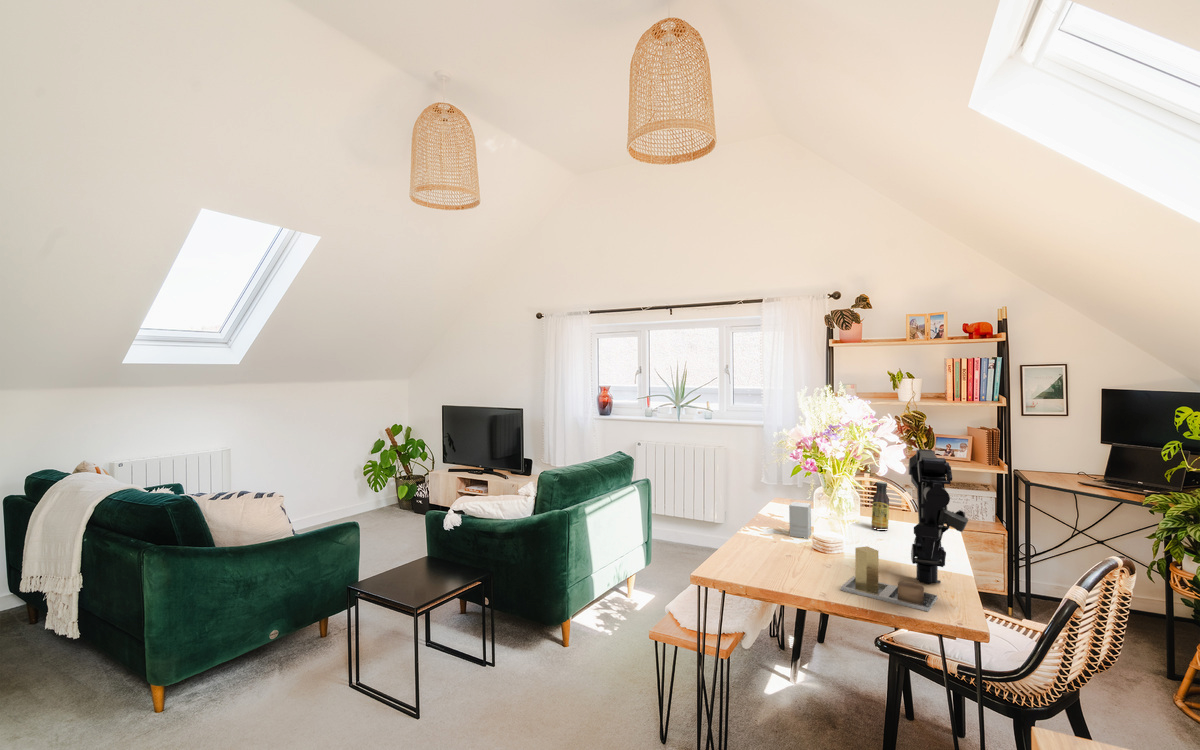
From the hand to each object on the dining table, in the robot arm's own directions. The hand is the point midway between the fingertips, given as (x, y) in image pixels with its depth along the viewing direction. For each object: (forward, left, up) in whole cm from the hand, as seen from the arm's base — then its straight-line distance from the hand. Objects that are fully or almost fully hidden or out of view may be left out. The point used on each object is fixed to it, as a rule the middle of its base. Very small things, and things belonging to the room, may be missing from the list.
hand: (932, 554), depth 164 cm
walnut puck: (+7, -4, -12) cm, 15 cm away
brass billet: (+7, -16, -12) cm, 21 cm away
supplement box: (-38, -54, -13) cm, 67 cm away
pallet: (+7, -10, -13) cm, 18 cm away
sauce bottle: (-68, -32, -13) cm, 76 cm away
